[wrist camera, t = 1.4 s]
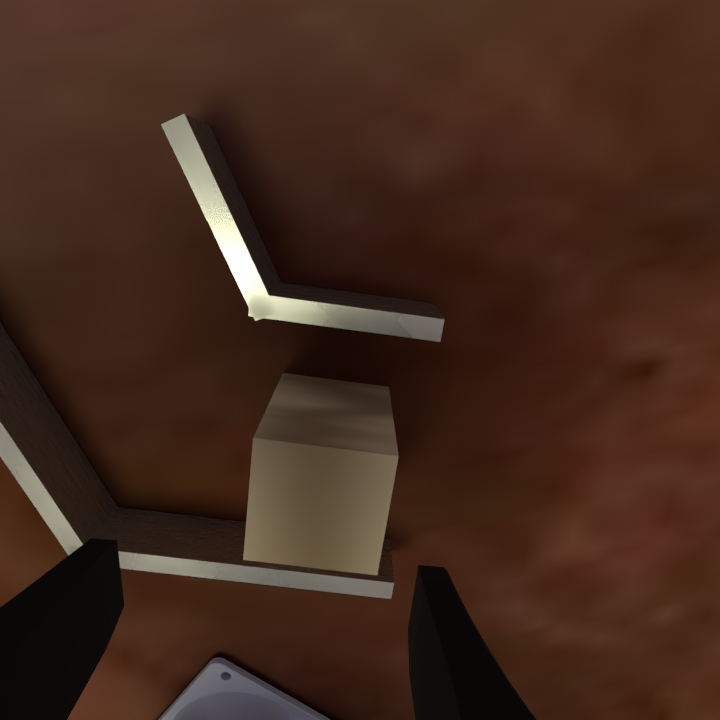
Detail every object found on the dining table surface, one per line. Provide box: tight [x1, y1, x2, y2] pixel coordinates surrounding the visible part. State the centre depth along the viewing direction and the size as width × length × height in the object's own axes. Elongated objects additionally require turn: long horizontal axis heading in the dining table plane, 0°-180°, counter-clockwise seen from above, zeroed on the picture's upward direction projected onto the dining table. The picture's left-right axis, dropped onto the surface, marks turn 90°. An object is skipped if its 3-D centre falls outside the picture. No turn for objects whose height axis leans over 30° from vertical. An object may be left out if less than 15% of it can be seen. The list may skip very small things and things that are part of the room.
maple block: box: [243, 373, 399, 575], centre depth 19 cm, size 4×4×6 cm
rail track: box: [0, 114, 445, 599], centre depth 20 cm, size 22×17×3 cm
